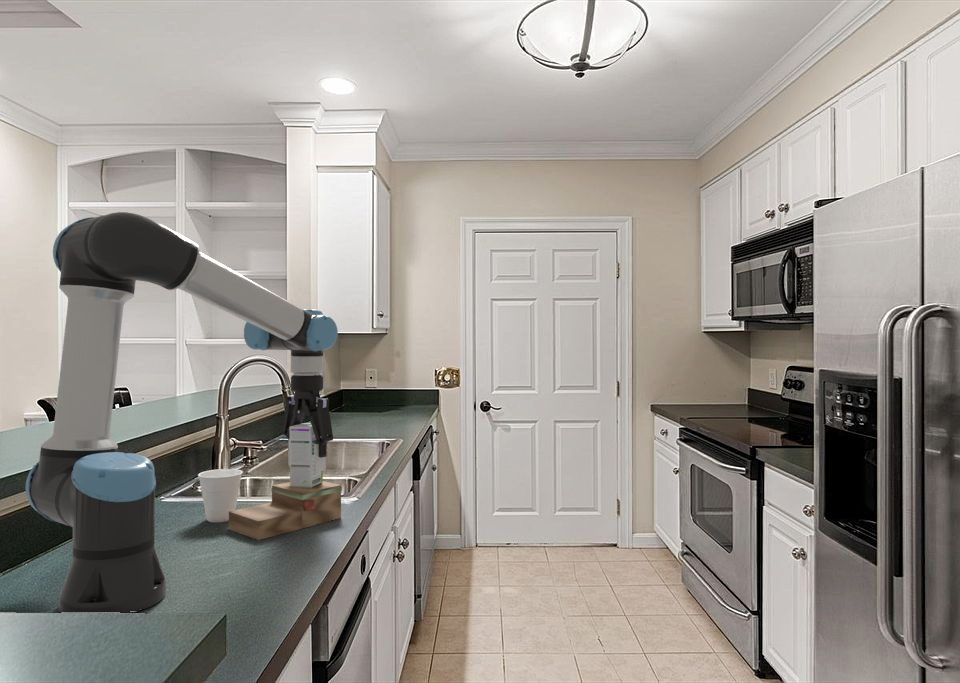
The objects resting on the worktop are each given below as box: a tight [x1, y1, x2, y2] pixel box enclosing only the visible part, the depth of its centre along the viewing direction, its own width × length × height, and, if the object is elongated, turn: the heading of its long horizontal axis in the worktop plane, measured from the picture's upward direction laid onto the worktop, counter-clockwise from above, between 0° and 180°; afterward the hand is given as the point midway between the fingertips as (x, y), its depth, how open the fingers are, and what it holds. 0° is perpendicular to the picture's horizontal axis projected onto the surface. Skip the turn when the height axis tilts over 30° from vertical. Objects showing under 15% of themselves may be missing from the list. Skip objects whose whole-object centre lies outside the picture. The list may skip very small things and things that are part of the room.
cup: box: [197, 468, 244, 524], centre depth 154 cm, size 10×10×11 cm
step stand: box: [228, 480, 343, 541], centre depth 151 cm, size 22×13×8 cm, turn 141°
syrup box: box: [289, 422, 324, 488], centre depth 155 cm, size 6×6×14 cm
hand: (306, 468), depth 155 cm, fingers open, 9 cm apart
